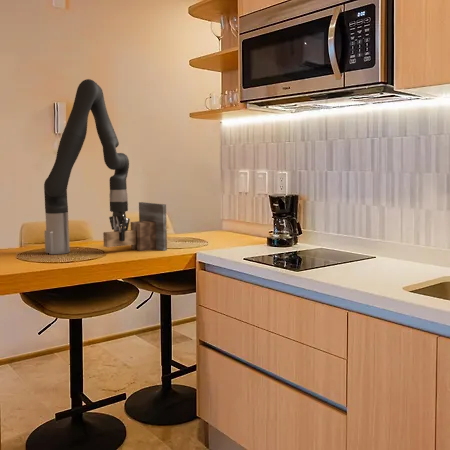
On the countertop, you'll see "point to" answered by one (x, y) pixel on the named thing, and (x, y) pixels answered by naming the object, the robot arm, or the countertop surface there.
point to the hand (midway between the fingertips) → (120, 240)
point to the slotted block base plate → (151, 227)
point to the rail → (113, 238)
